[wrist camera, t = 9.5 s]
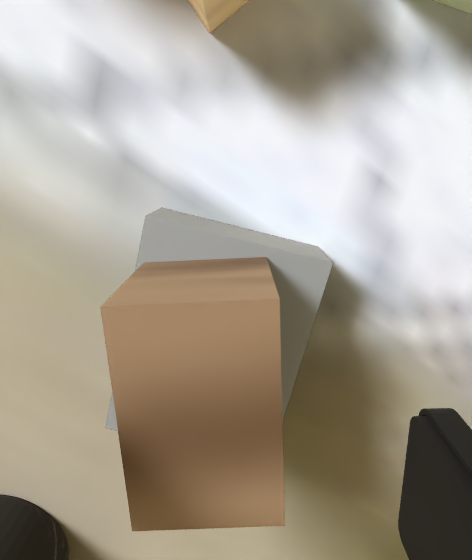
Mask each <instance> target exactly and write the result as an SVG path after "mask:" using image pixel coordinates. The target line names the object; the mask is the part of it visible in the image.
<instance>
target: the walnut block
mask: <svg viewBox="0 0 472 560" xmlns="http://www.w3.org/2000/svg"><path fill="white" fill-rule="evenodd" d="M100 308H101V315H102V322H103V329H104V336H105V343H106V350H107V357H108V364H109V371H110V378H111V385H112V392H113V399H114V406H115V413H116V420H117V427H118V434H119V441H120V448H121V455H122V462H123V469H124V476H125V483H126V490H127V498H128V505H129V512H130V519H131V526H132V531H150V530H177V529H205V528H233V527H261V526H285V515H284V470H283V425H282V380H281V335H280V298H279V295H278V292H277V289H276V285H275V282H274V279H273V276H272V273H271V270H270V267H269V264H268V260H267V257H253V258H231V259H210V260H188V261H167V262H146V263H143V264H142V265H141V266H140V267H139V268H138V269H137V270H136V271H135V272H134V273H133V274H132V275H131V276H130V277H129V278H128V279H127V280H126V281H125V282H124V283H123V284H122V285H121V286H120V287H119V288H118V289H117V290H116V291H115V292H114V293H113V294H112V295H111V296H110V297H109V298H108V300H107V301H106V302H105V303H104V304H103V305H102V306H101V307H100Z"/></svg>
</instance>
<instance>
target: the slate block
mask: <svg viewBox="0 0 472 560" xmlns="http://www.w3.org/2000/svg"><path fill="white" fill-rule="evenodd" d="M253 257H267V260H268V264H269V267H270V270H271V273H272V276H273V279H274V282H275V285H276V289H277V292H278V295H279V298H280V335H281V380H282V421H283V418H284V415H285V412H286V409H287V405H288V402H289V399H290V396H291V393H292V390H293V387H294V383H295V380H296V377H297V374H298V371H299V368H300V365H301V361H302V358H303V355H304V352H305V349H306V346H307V343H308V339H309V336H310V333H311V330H312V327H313V324H314V321H315V318H316V314H317V311H318V308H319V305H320V302H321V299H322V296H323V292H324V289H325V286H326V283H327V280H328V277H329V274H330V270H331V267H332V264H333V262H332V261H331V260H330V259H329V258H328V257H327V256H326V255H325V254H324V252H323V251H322V250H321V249H320V248H319V247H318V246H314V245H310V244H306V243H302V242H298V241H294V240H290V239H286V238H282V237H278V236H274V235H270V234H266V233H262V232H258V231H254V230H250V229H246V228H242V227H238V226H234V225H230V224H226V223H222V222H218V221H214V220H210V219H206V218H202V217H198V216H194V215H190V214H186V213H182V212H178V211H174V210H170V209H165V208H160V209H158V210H156V211H154V212H152V213H150V214H148V215H146V216H145V220H144V226H143V231H142V236H141V242H140V247H139V252H138V257H137V263H136V268H135V271H136V270H137V269H138V268H139V267H140V266H141V265H142V264H143V263H146V262H167V261H188V260H210V259H231V258H253ZM105 428H107V429H111V430H116V431H118V427H117V420H116V413H115V406H114V399H113V392H112V395H111V400H110V405H109V411H108V416H107V421H106V426H105Z"/></svg>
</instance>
